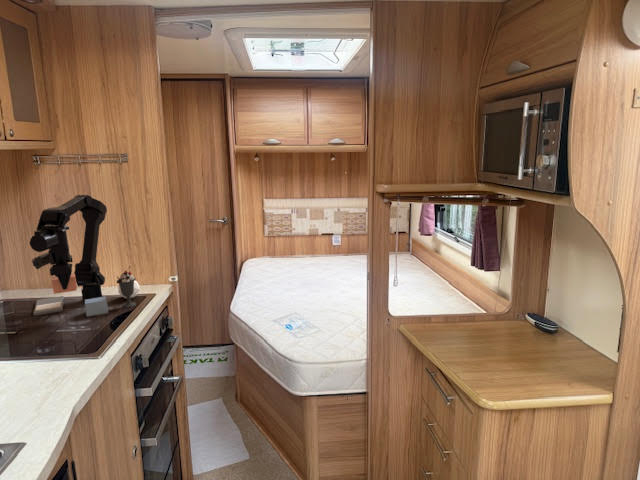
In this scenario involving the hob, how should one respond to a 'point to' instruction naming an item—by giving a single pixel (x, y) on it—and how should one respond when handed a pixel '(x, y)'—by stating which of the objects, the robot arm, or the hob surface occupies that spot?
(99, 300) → the slate brick
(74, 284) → the terracotta brick
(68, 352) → the hob surface
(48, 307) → the build plate
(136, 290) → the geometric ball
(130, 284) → the sundae
